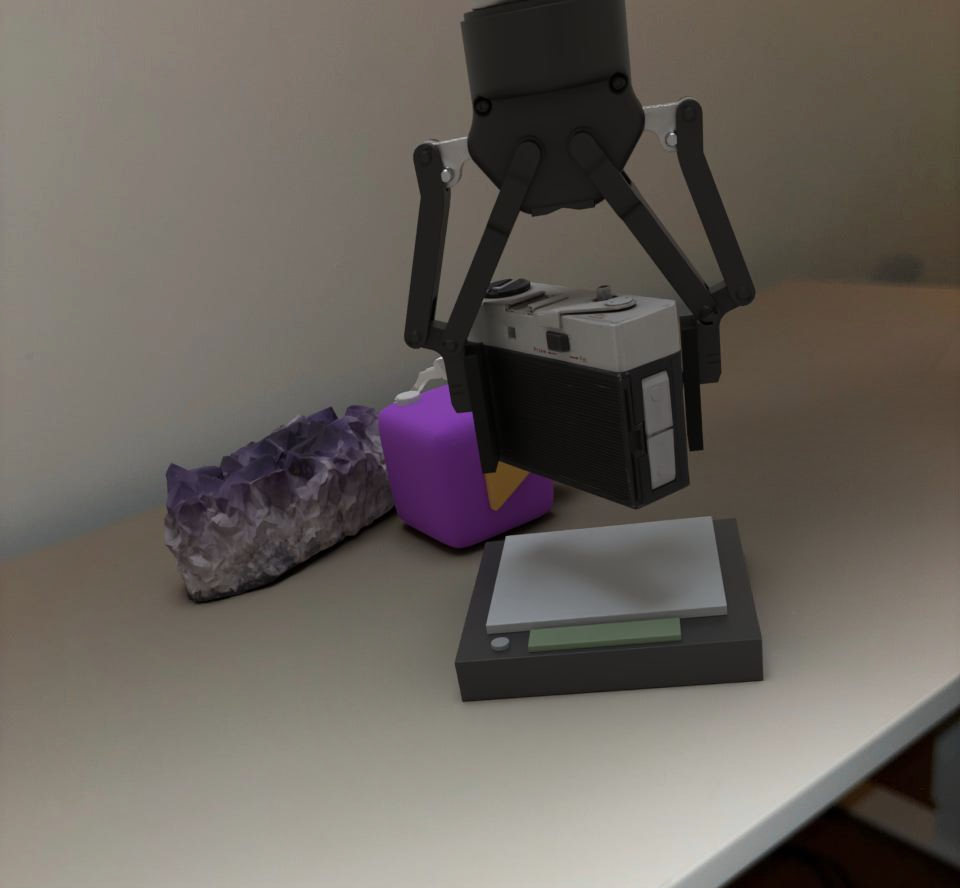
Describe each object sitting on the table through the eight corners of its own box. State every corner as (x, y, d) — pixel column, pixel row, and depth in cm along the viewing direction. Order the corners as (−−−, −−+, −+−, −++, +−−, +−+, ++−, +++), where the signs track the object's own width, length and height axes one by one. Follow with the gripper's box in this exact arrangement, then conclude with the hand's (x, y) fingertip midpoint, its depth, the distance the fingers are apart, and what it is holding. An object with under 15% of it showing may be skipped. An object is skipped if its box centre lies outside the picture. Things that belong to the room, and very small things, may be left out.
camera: (754, 464, 55) (738, 267, 50) (605, 527, 52) (573, 325, 47) (609, 411, 66) (585, 246, 61) (481, 460, 64) (445, 291, 59)
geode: (263, 619, 71) (202, 481, 66) (159, 613, 78) (98, 488, 74) (439, 488, 84) (398, 366, 80) (337, 493, 91) (294, 381, 87)
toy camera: (606, 491, 80) (592, 360, 75) (478, 564, 72) (453, 424, 68) (505, 469, 87) (487, 349, 82) (379, 534, 80) (350, 406, 75)
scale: (737, 553, 68) (735, 508, 66) (763, 680, 55) (761, 628, 54) (491, 575, 71) (484, 533, 69) (462, 701, 58) (452, 652, 56)
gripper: (792, -54, 49) (797, 407, 60) (316, 36, 53) (402, 452, 64) (817, -63, 43) (818, 455, 54) (274, 40, 47) (377, 501, 58)
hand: (591, 453), depth 59 cm, fingers closed on camera, 10 cm apart
